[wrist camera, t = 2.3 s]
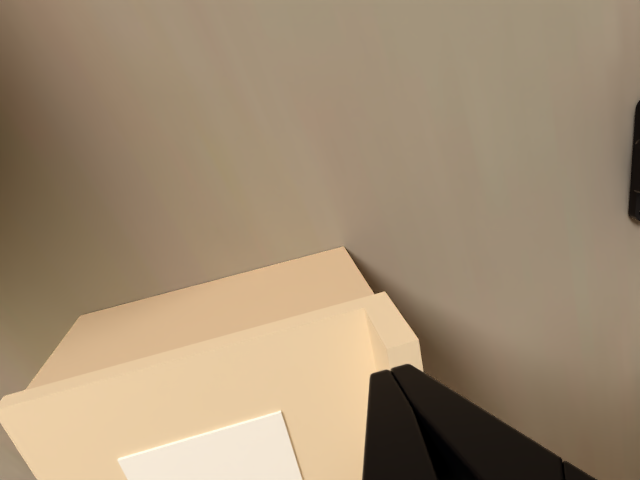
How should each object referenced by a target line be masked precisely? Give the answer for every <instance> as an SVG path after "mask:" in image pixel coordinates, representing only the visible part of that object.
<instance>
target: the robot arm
mask: <svg viewBox="0 0 640 480" xmlns="http://www.w3.org/2000/svg"><path fill="white" fill-rule="evenodd" d="M629 216H630V217H631V218H633V219H636V220H639V221H640V101H639V102H638V104H637V106H636V113H635V127H634V142H633V157H632V172H631V186H630V201H629ZM362 480H597V479H595V478H593V477H592V476H590V475H588V474H587V473H585V472H583V471H582V470H580V469H579V468H577V467H575V466H574V465H572V464H571V463H569V462H567V461H564V462H562V459H561V458H560V457H559V456H557V455H556V454H554V453H553V452H551V451H549V450H548V449H546V448H544V447H543V446H541V445H540V444H538V443H536V442H535V441H533V440H532V439H530V438H528V437H527V436H525V435H524V434H522V433H520V432H519V431H517V430H516V429H514V428H512V427H511V426H509V425H507V424H506V423H504V422H503V421H501V420H499V419H498V418H496V417H495V416H493V415H491V414H490V413H488V412H487V411H485V410H483V409H482V408H480V407H479V406H477V405H475V404H474V403H472V402H470V401H469V400H467V399H466V398H464V397H462V396H461V395H459V394H458V393H456V392H454V391H453V390H451V389H450V388H448V387H446V386H445V385H443V384H442V383H440V382H438V381H437V380H435V379H433V378H432V377H430V376H429V375H427V374H425V373H424V372H422V371H421V370H419V369H417V368H416V367H414V366H413V365H411V364H404V365H400V366H396V367H393V368H391V370H387V369H385V370H382V371H378V372H374V373H372V374H371V375H370V379H369V393H368V406H367V419H366V433H365V446H364V459H363V473H362Z"/></svg>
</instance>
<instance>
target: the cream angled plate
mask: <svg viewBox="0 0 640 480" xmlns="http://www.w3.org/2000/svg"><path fill="white" fill-rule="evenodd" d="M404 364H411V365H413V366H414V367H416V368H417V369H419V370H421V371H422V372H423V366H422V359H421V352H420V345H419V339H418V338H417V336H416V335H415V334H414V332H413V331H412V329H411V328H410V326H409V325H408V324H407V322H406V321H405V319H404V318H403V316H402V315H401V314H400V312H399V311H398V309H397V308H396V306H395V305H394V304H393V302H392V301H391V299H390V298H389V296H388V295H387V294H386V292H385V291H384V292H381V293H377V294H373V295H370V296H366V297H363V298H359V299H355V300H352V301H348V302H344V303H341V304H337V305H333V306H330V307H326V308H323V309H319V310H315V311H312V312H308V313H304V314H301V315H297V316H293V317H290V318H286V319H283V320H279V321H275V322H272V323H268V324H264V325H261V326H257V327H253V328H250V329H246V330H242V331H239V332H235V333H232V334H228V335H224V336H221V337H217V338H213V339H210V340H206V341H202V342H199V343H195V344H192V345H188V346H184V347H181V348H177V349H173V350H170V351H166V352H162V353H159V354H155V355H152V356H148V357H144V358H141V359H137V360H133V361H130V362H126V363H122V364H119V365H115V366H111V367H108V368H104V369H101V370H97V371H93V372H90V373H86V374H82V375H79V376H75V377H71V378H68V379H64V380H61V381H57V382H53V383H50V384H46V385H42V386H39V387H35V388H31V389H28V390H24V391H21V392H17V393H13V394H10V395H6V396H4V397H3V398H2V399H1V401H0V423H1V424H2V426H3V428H4V429H5V431H6V432H7V434H8V435H9V437H10V438H11V440H12V441H13V443H14V445H15V446H16V448H17V449H18V451H19V452H20V454H21V455H22V457H23V459H24V460H25V462H26V463H27V465H28V466H29V468H30V469H31V471H32V473H33V474H34V476H35V477H36V479H37V480H362V473H363V459H364V446H365V433H366V419H367V406H368V393H369V379H370V375H371V374H372V373H374V372H378V371H382V370H385V369H387V370H391V368H393V367H396V366H400V365H404Z"/></svg>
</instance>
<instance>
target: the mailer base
mask: <svg viewBox="0 0 640 480" xmlns="http://www.w3.org/2000/svg"><path fill="white" fill-rule="evenodd" d="M373 294H374V293H373V291H372V290H371V288H370V287H369V285H368V283H367V282H366V280H365V279H364V277H363V276H362V274H361V272H360V271H359V269H358V268H357V266H356V265H355V263H354V262H353V260H352V258H351V257H350V255H349V254H348V252H347V251H346V249H345V247H344V246H343V247H339V248H336V249H332V250H328V251H324V252H320V253H317V254H313V255H309V256H305V257H301V258H298V259H294V260H290V261H286V262H282V263H279V264H275V265H271V266H267V267H263V268H260V269H256V270H252V271H248V272H244V273H241V274H237V275H233V276H229V277H225V278H221V279H218V280H214V281H210V282H206V283H202V284H199V285H195V286H191V287H187V288H183V289H180V290H176V291H172V292H168V293H164V294H161V295H157V296H153V297H149V298H145V299H142V300H138V301H134V302H130V303H126V304H123V305H119V306H115V307H111V308H107V309H104V310H100V311H96V312H92V313H88V314H85V315H81V316H80V317H79V318H78V319H77V321H76V322H75V323H74V325H73V326H72V327H71V329H70V330H69V331H68V333H67V334H66V335H65V337H64V338H63V339H62V341H61V342H60V344H59V345H58V346H57V348H56V349H55V350H54V352H53V353H52V354H51V356H50V357H49V358H48V360H47V361H46V362H45V364H44V365H43V366H42V368H41V369H40V371H39V372H38V373H37V375H36V376H35V377H34V379H33V380H32V381H31V383H30V384H29V385H28V387H27V388H26V389H25V390H28V389H31V388H35V387H39V386H42V385H46V384H50V383H53V382H57V381H61V380H64V379H68V378H71V377H75V376H79V375H82V374H86V373H90V372H93V371H97V370H101V369H104V368H108V367H111V366H115V365H119V364H122V363H126V362H130V361H133V360H137V359H141V358H144V357H148V356H152V355H155V354H159V353H162V352H166V351H170V350H173V349H177V348H181V347H184V346H188V345H192V344H195V343H199V342H202V341H206V340H210V339H213V338H217V337H221V336H224V335H228V334H232V333H235V332H239V331H242V330H246V329H250V328H253V327H257V326H261V325H264V324H268V323H272V322H275V321H279V320H283V319H286V318H290V317H293V316H297V315H301V314H304V313H308V312H312V311H315V310H319V309H323V308H326V307H330V306H333V305H337V304H341V303H344V302H348V301H352V300H355V299H359V298H363V297H366V296H370V295H373Z"/></svg>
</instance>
